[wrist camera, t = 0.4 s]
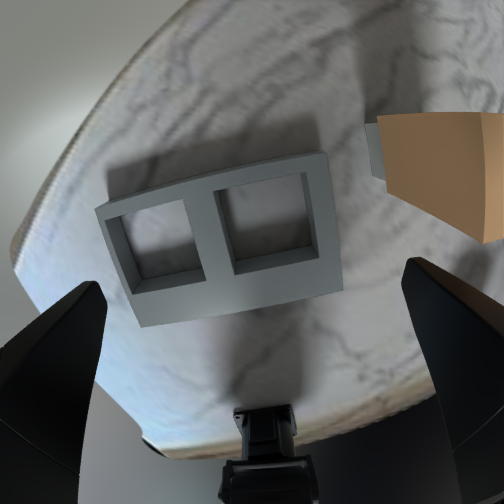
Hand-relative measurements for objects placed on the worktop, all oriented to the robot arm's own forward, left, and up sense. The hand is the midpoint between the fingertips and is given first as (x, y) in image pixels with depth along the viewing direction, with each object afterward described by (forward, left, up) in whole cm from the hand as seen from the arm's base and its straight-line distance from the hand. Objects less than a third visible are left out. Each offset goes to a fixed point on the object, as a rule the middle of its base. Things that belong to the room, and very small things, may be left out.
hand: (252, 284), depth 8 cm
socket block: (-3, +3, -14) cm, 15 cm away
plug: (+1, -11, -14) cm, 18 cm away
